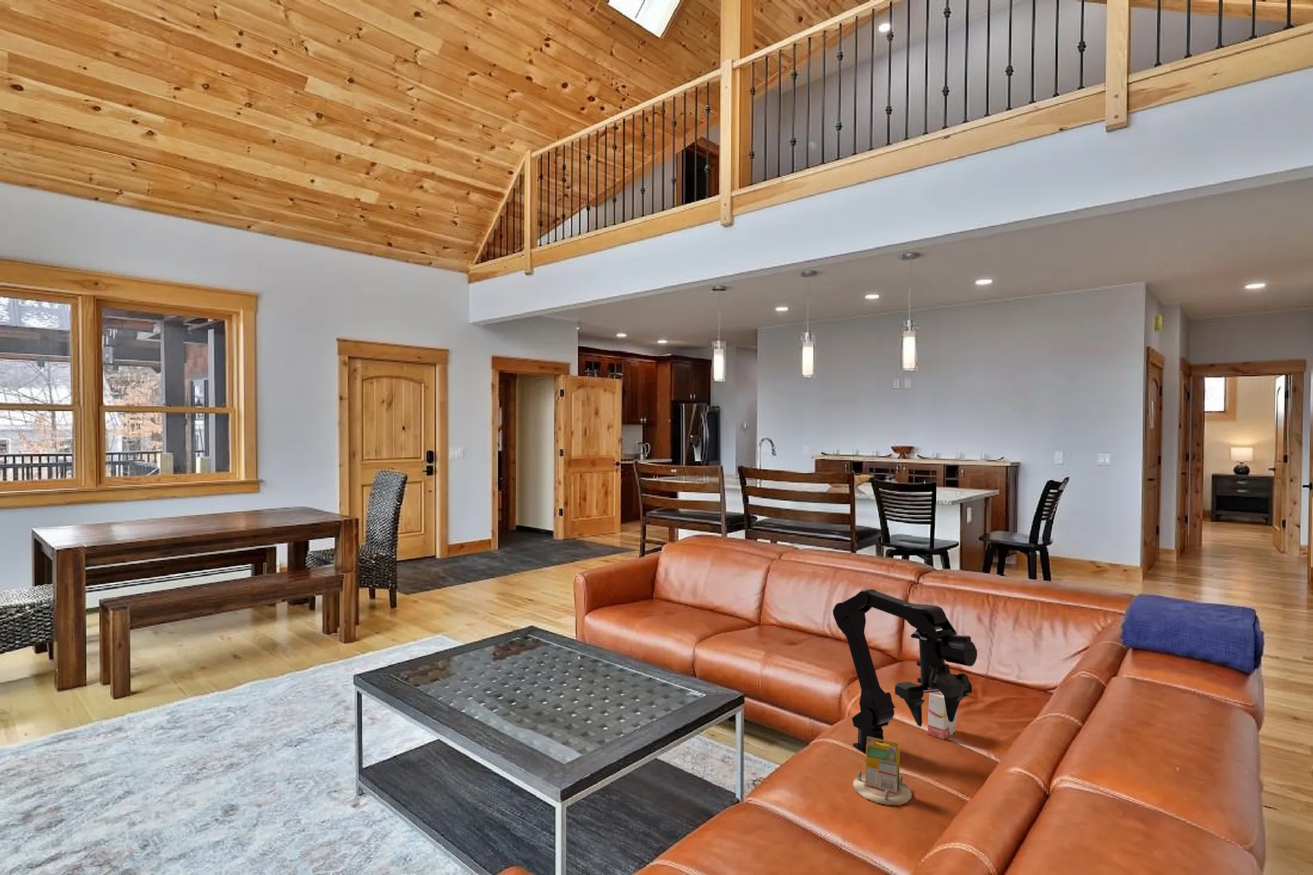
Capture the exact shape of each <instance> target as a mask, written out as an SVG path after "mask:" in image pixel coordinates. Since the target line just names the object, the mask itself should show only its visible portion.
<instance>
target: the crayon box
mask: <svg viewBox="0 0 1313 875" xmlns="http://www.w3.org/2000/svg"><path fill="white" fill-rule="evenodd" d="M876 741H878V742H876ZM881 741H882V742H884V743H879V742H881ZM900 755H901V747H900V746H899V742H895V741H891V740H885V739H884V740H882V739H877V738H873V737H868V736H867V745H866V754H865V774H864V775H865V785H866V786H871V787H875V788H879V789H883V790H888V791H891V792H894V793H897V792H898V789H899V775H900V766H901V764H900V762H901V761H900V759H901V758H900V757H901V756H900Z"/></svg>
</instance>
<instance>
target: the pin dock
mask: <svg viewBox="0 0 1313 875" xmlns="http://www.w3.org/2000/svg"><path fill="white" fill-rule="evenodd" d="M903 778H904V777H903V774H899V789H898V792H897V793H894V792H891V791H888V790H883V789H879V788H875V787H871V786H866V785H865V774H863V775H862V771H861V770H858V771H857V777H855V779H853V783H852V787H853V786H854V788H855V790H856V791H857V792H858V793H859V794H861V795H862V796H863V797H865V798H867V799H870V800H871V801H874V802H877V803H882V804H885V805H884V806H887V805H898V804H902V803H906V802H908V801H909V800H910V799H911V800H912V794H913V793H912V790H911V788H910V787H909V786H908V785H907V784H906V783H904V782H903V780H904V779H903ZM854 788H853V789H854ZM855 790H854V791H855ZM911 800H910V801H911ZM910 801H909V802H910ZM909 802H908V803H909ZM877 803H876V804H877ZM886 804H887V805H886ZM906 804H907V803H906Z"/></svg>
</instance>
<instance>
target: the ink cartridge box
mask: <svg viewBox="0 0 1313 875" xmlns="http://www.w3.org/2000/svg"><path fill="white" fill-rule="evenodd" d="M928 694H929V695H928V696H929V697H928V712H927V713H928V714H927V715H928V716H927V717H928V718H927V735H929V736H931V737H935V738H938V739H941V740H943V741H944V740H945V739H947V738H948V737H950V736H952V735H953V732H954V731H955V729H956V730H957V718H958V717H957V715H958V710H957V711H956V714H955V717H954V720H953V722H949V720H948V717H947V712H946V706H945V700H944V695H943V693H942V692H940V691H937V692H928Z"/></svg>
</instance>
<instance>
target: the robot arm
mask: <svg viewBox="0 0 1313 875" xmlns="http://www.w3.org/2000/svg"><path fill="white" fill-rule="evenodd" d="M872 608H873V609H876V610H879V611H882V612H884V613H887V614H888V615H892V616H896V617H898V618H901V619H902V620H905V621H906V622H907V623H908V624H909V625H910V626H911V627H913V628H915V629H916V630H915V631H914V632H913V633H912V634H910V638H911V639H918V647H919V652H918V653H919V660H917V661H916V666H918V667H919V668H920V669H919V670H920V673H919V674H920V677H917V683H919V685H918V684H916V683H913V682H910V681H902V682H897V683H896V684H895V685H894V695H895V696H899V698H900V699H903V700H904V702H905V704H906V705H907V707H908V709H909V710H910V713H911V715H912V717H913V719H914V721H915V724H916V725H917V726H918V727H919V728H921V727H922V725H923V712H922V710H923V709H922V708H923V706H922V705H923V704H924V702H925V699H923V698H924V696H925V693H926V694H927V693H928V694H929V693H930V692H937V691H940V692H942V693H943V695H944V700H945V706H946V712H947V717H948V720H949V722H953V720H954V717H955V714H956V711H957V712H958V707H959V705H960V703H961V701H962V700H963V699H964V698H966V697H969V694H973V685H972V684H971V682H970V679H969V675H967V674H966V673H957V674H956V673H951V670H950V668H951V667H950V666H949V663H951V664H957V665H961V666H965V667H966V666H967V667H972V666H974V665H975V663H976V661H977V658H978V649H977V648H976V645H975V643H974V642H973V641H972V636H970V635H959V634H958V633H957V630H955V628H954V627H953V625H952V623H951V622H950V621H949V619H948V618H947V616H946V613H945V611H944V609H943V608H942V607H940V606H938V605H933V604H928V603H927V604H926V603H925V604H924V603H913V602H909V601H906V600H903V599H901V598H897V597H895V596H892V595H890V594H885V593H883V592H879V591H878V590H876V589H874V588H869V589H862V590H861V591H859V592H858V593H857V594H855V595H854V596H852V597H850V598H848V599H846V600H845V601H843V602H842V601H841V602H838V603H836V604H835V605H834V607H833V609H832V615H833V618H834V621H835V623H836V625H837V628H838V629H839V630H840V631H841V632H842V633H843V635H844V636H845V638H846V642H847V645H848V647H849V651H850V655H851V658H852V661H853V664H854V665H853V666H854V668H855V672H856V675H857V680H858V683H859V687H860V696H859V703H858V704H859V710H860V711H859V712H858V713H856V714H855V715H854V716H853V717H852V718H851V719H852V723H853V724H852V725H853V726H854V727H855V728H856V729H857V742H854V743H853V744H852V746H853V747H854V748H856V749H857V750H859V751H861V752H862V753H863V754H865V755H866V745H867V736H868V737H873V738H877V739H882V740H885V739H884V729H883V728H884V727H887V726H888V725H889V723H890V721H891V720H893V718H894V716H895V708H896V706H895V704H894V702H893V699H892V695H891V692H889V691H888V692H885V691H884V690H883V689H882V687H881V685H880V683H879V679H878V676H877V672H876V668H875V666H874V663H873V658H872V655H871V651H870V648H869V645H868V642H867V639H866V634H865V630H866V623H867V619H866V618H867V617H866V613H868V612H869V611H871V609H872ZM946 662H947V663H946ZM876 742H878V741H876ZM879 743H884V742H882V741H881V742H879ZM884 744H885V743H884Z"/></svg>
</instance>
